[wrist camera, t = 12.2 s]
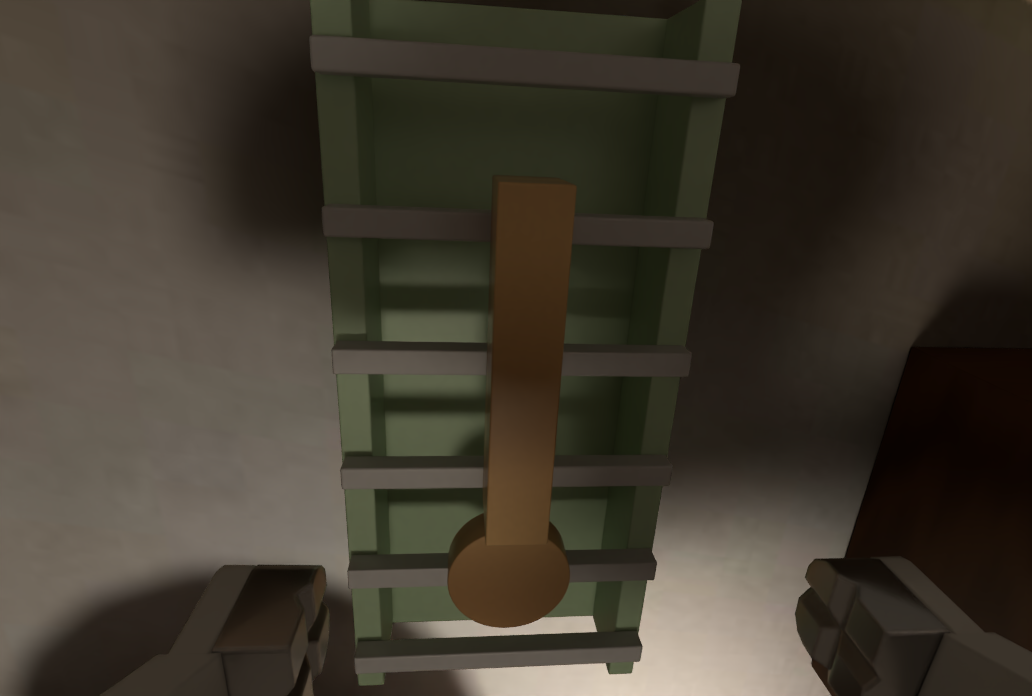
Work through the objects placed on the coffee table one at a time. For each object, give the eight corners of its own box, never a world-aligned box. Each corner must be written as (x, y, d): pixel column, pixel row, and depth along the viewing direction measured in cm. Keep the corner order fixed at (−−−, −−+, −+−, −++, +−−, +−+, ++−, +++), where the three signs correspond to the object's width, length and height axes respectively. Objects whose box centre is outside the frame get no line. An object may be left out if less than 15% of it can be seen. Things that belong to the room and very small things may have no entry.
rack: (340, 1, 17) (297, -47, 13) (686, 26, 18) (758, -10, 14) (373, 606, 26) (354, 706, 21) (608, 598, 27) (637, 692, 22)
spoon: (450, 172, 15) (448, 179, 12) (599, 179, 15) (625, 187, 13) (447, 602, 20) (445, 664, 17) (559, 598, 20) (572, 659, 18)
